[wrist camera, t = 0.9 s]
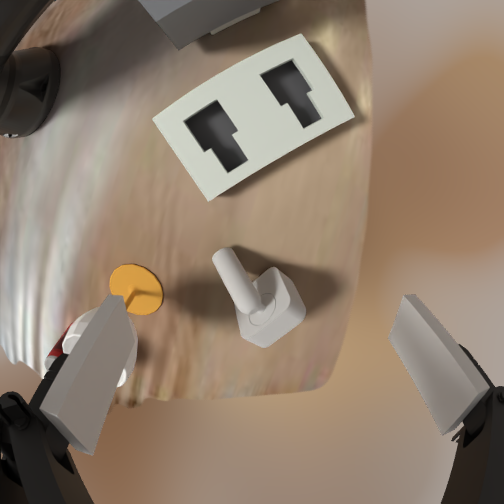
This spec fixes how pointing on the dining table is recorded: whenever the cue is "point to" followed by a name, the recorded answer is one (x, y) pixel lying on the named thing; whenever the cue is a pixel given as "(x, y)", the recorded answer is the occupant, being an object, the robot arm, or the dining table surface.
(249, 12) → the foam block
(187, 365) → the dining table surface
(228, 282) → the wall hook
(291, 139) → the keyhole board
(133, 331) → the cup
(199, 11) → the grey slotted block
